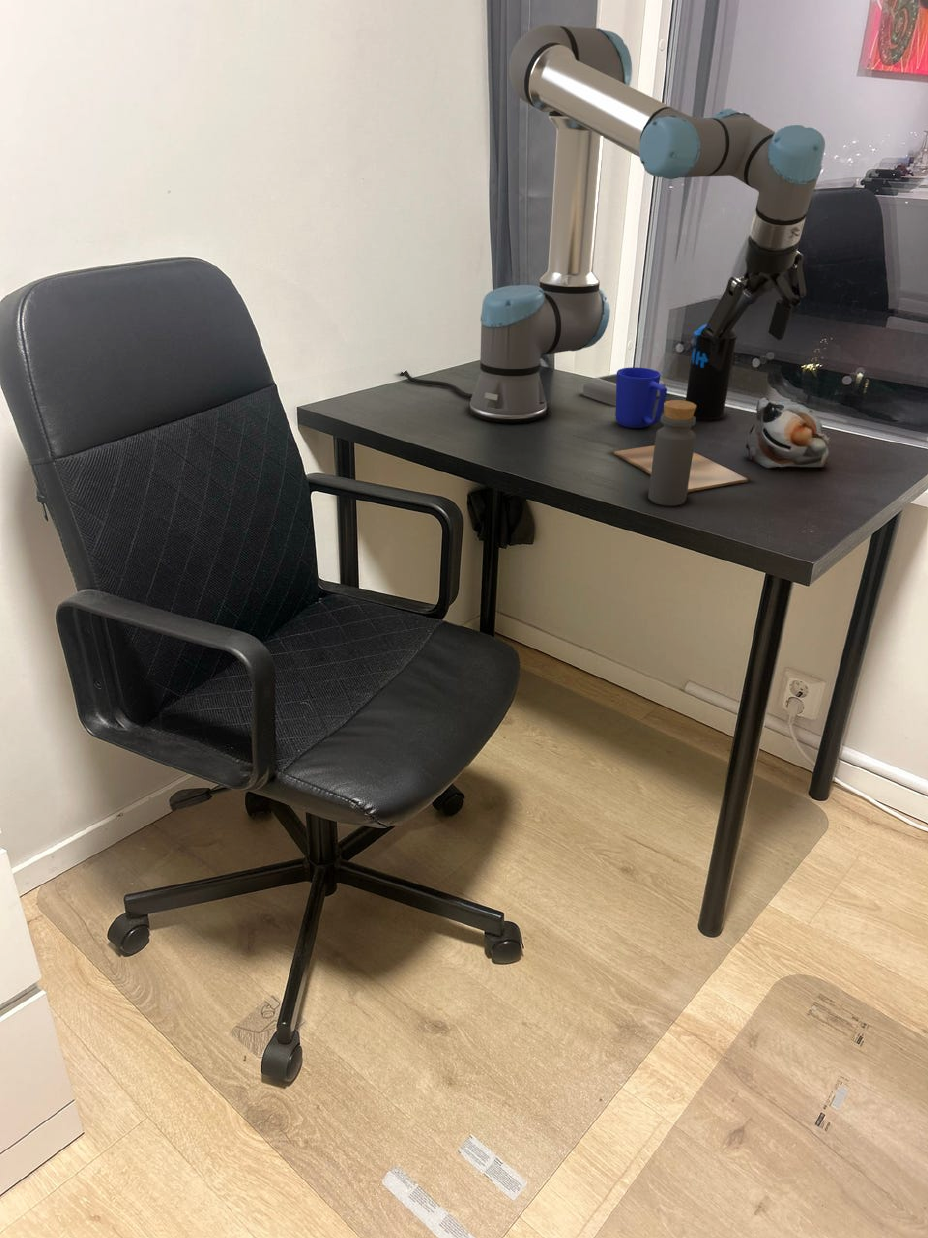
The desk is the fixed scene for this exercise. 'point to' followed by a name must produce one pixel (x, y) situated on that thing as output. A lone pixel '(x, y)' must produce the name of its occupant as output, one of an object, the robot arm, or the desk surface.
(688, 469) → the bottle
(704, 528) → the desk surface
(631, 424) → the mug
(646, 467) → the wooden board
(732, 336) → the aerosol can
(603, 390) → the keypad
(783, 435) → the lucky cat figurine
